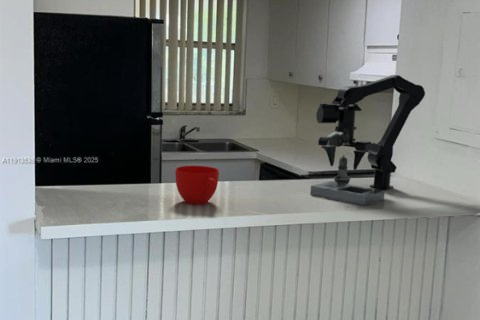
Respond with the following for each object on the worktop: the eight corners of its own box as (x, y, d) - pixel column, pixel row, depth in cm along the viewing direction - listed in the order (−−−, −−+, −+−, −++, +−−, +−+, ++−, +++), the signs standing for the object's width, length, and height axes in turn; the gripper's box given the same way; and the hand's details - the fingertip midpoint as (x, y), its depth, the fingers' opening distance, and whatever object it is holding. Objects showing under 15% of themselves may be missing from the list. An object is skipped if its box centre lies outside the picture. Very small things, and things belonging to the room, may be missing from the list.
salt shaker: (350, 187, 213) (353, 154, 211) (348, 190, 208) (350, 156, 206) (334, 185, 215) (336, 152, 213) (331, 188, 209) (333, 154, 208)
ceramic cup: (193, 212, 168) (194, 177, 166) (167, 199, 182) (168, 166, 180) (232, 208, 175) (234, 174, 173) (204, 196, 189) (205, 164, 187)
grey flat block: (330, 189, 208) (331, 180, 207) (383, 199, 195) (384, 190, 195) (310, 194, 198) (310, 185, 197) (364, 205, 185) (365, 196, 185)
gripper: (310, 122, 207) (308, 166, 210) (358, 127, 196) (355, 174, 198) (327, 120, 216) (325, 163, 218) (374, 125, 204) (371, 170, 207)
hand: (343, 167), depth 210 cm, fingers open, 9 cm apart
